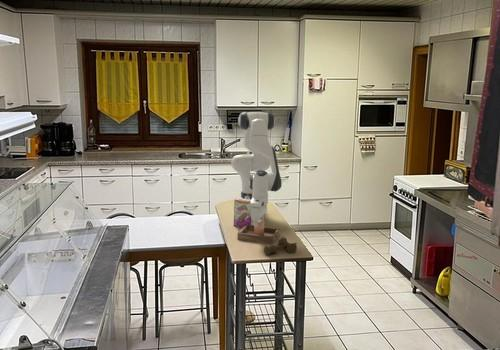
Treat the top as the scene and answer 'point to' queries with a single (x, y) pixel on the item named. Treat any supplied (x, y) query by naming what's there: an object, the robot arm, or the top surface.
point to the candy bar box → (242, 212)
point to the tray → (248, 235)
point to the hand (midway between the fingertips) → (259, 223)
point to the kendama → (280, 247)
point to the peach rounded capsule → (259, 228)
